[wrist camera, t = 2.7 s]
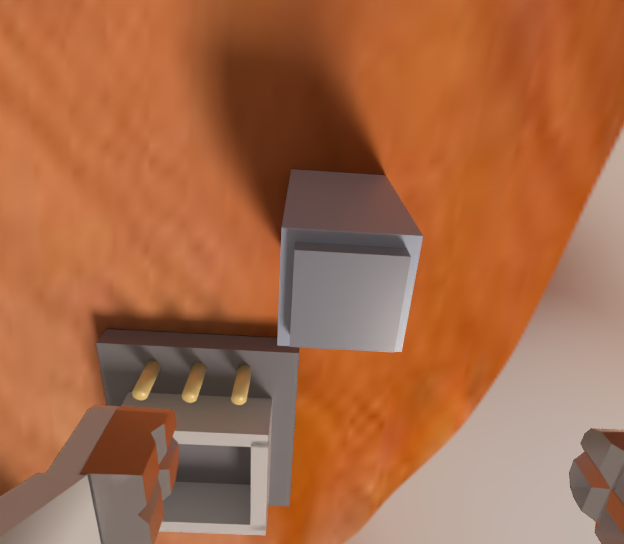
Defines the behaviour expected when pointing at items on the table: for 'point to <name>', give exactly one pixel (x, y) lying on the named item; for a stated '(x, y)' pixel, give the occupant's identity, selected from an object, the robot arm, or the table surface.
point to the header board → (213, 420)
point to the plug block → (345, 263)
